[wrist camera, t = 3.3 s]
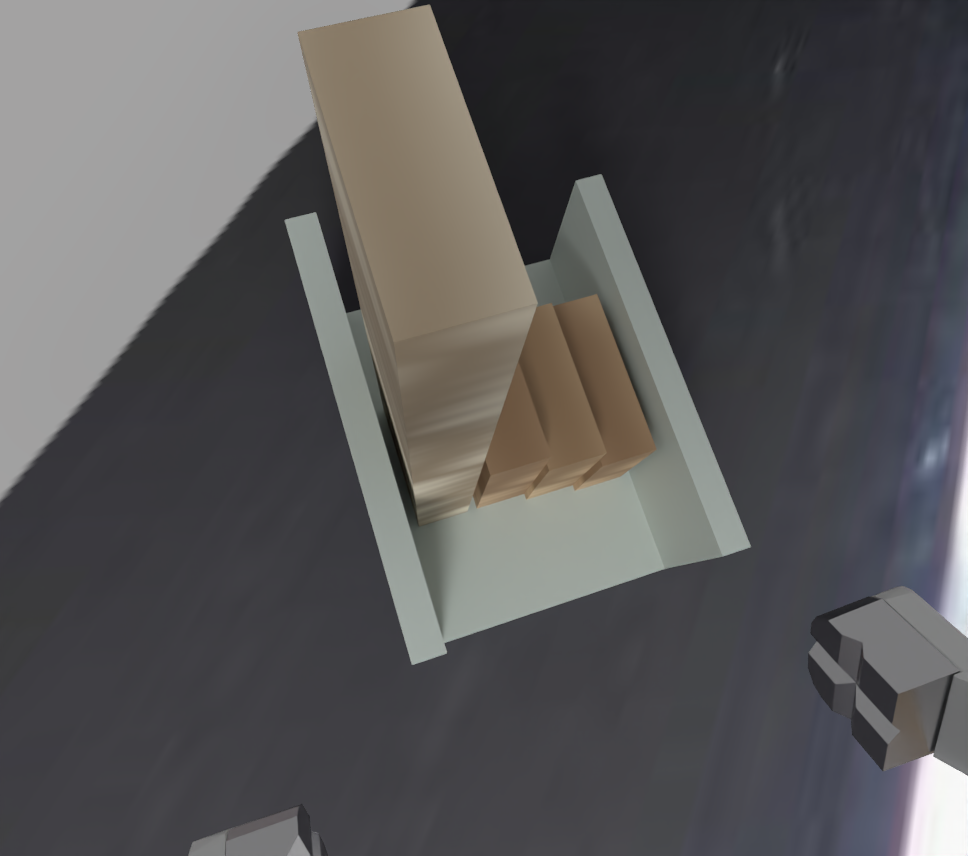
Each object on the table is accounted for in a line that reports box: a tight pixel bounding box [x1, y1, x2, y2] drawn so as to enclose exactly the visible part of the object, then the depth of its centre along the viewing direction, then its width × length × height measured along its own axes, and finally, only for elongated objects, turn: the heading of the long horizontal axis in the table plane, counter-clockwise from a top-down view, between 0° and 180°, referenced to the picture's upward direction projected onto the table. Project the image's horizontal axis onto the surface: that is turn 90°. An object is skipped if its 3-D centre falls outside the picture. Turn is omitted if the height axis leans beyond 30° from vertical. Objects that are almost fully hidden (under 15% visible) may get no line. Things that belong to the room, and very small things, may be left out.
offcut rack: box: [285, 174, 751, 665], centre depth 27 cm, size 12×14×10 cm
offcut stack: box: [473, 294, 657, 508], centre depth 27 cm, size 6×6×7 cm
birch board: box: [298, 5, 538, 527], centre depth 20 cm, size 2×5×20 cm, turn 18°
